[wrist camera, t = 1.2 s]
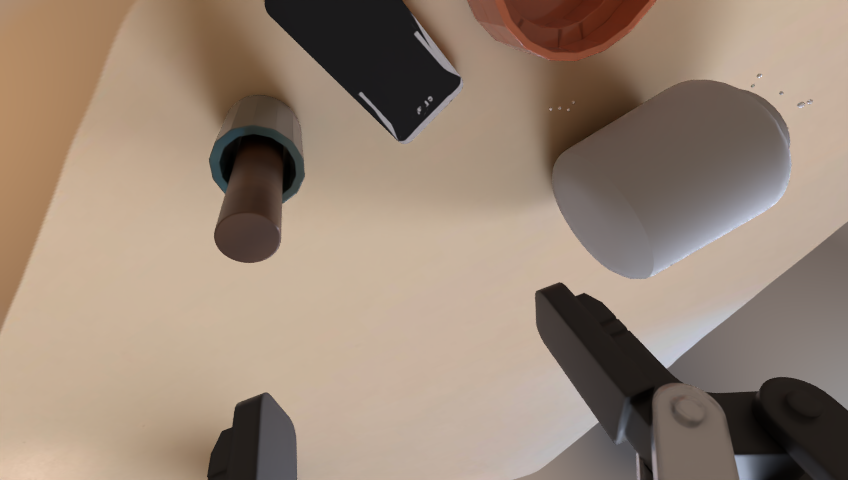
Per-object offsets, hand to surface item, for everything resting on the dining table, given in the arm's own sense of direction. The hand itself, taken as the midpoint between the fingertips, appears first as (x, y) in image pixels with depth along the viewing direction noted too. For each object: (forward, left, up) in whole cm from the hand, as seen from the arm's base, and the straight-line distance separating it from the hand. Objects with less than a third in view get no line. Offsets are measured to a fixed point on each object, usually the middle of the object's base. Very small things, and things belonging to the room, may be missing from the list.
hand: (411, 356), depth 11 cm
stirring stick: (-2, -6, -26) cm, 27 cm away
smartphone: (-2, +6, -27) cm, 28 cm away
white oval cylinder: (+21, +25, -27) cm, 43 cm away
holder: (-2, -6, -27) cm, 28 cm away
